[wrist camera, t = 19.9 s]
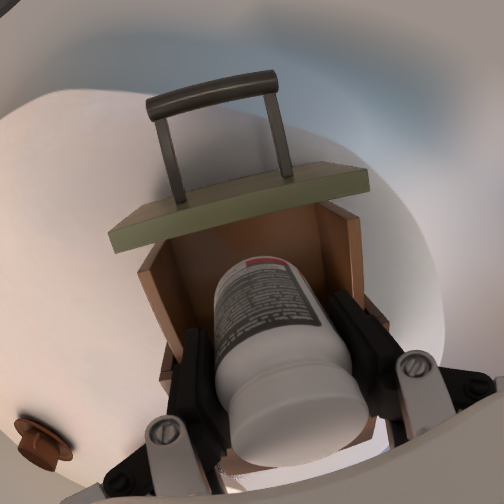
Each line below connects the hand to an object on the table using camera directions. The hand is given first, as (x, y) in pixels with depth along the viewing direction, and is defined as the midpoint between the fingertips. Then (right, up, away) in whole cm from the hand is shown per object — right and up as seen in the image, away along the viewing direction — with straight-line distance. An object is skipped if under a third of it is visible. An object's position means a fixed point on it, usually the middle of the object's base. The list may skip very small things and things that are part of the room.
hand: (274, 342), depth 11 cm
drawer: (-1, +5, +10) cm, 11 cm away
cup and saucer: (-37, -28, +19) cm, 50 cm away
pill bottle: (0, +1, +4) cm, 4 cm away
